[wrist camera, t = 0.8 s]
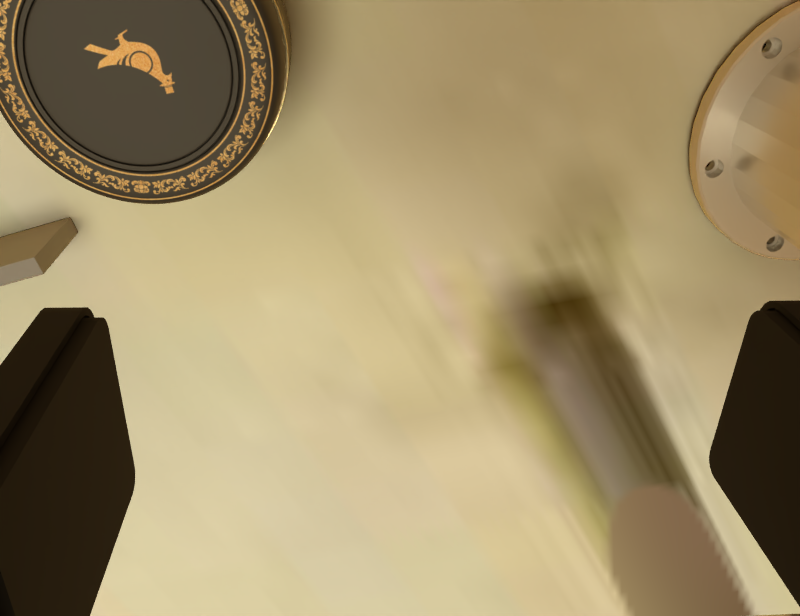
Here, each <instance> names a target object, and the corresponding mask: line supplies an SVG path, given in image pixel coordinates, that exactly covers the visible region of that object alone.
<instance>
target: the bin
mask: <svg viewBox="0 0 800 616" xmlns="http://www.w3.org/2000/svg"><path fill="white" fill-rule="evenodd" d="M77 233H78V231H77V229H76V227H75V226H74V224H73V222H72V220H71V218H70V217H69V218H66V219H62V220H59V221H55V222H52V223H48V224H45V225H41V226H38V227H35V228H31V229H28V230H24V231H21V232H17V233H14V234H10V235H7V236H3V237H0V286H3V285H6V284H10V283H13V282H17V281H20V280H24V279H28V278H31V277H35V276H38V275H42V274H44V273H45V272H46V270H47V269H48V268H49V267H50V266H51V264H52V263H53V262H54V261H55V260H56V258H57V257H58V256H59V255H60V254H61V252H62V251H63V250H64V249H65V248H66V246H67V245H68V244H69V243H70V242H71V240H72V239H73V238H74V237H75V236H76V234H77Z"/></svg>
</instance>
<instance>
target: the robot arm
mask: <svg viewBox="0 0 800 616" xmlns="http://www.w3.org/2000/svg"><path fill="white" fill-rule="evenodd" d="M765 42H767V43H766V46H765V48H764V49H763V50H762V46H763V44H764V43H765ZM710 161H711V162H710ZM689 162H690V176H691V181H692V185H693V189H694V193H695V196H696V198H697V200H698V202H699V204H700V206H701V208H702V210H703V212H704V214H705V215H706V216H707V218H708V219H709V220H710V221H711V222H712V223H713V225H714V226H715V227H716V228H717V229H718V230H719V231H720V232H721V233H723V234H724V235H725V236H726V237H727V238H729V239H730V240H731V241H732V242H733V243H735V244H737V245H739V246H741V247H742V248H744V249H746V250H748V251H749V252H751V253H755V254H758V255H761V256H764V257H767V258H773V259H784V260H800V0H799V1H797V2H795V3H793V4H791V5H789V6H787V7H785V8H783V9H781V10H780V11H779V12H777V13H776V14H774V15H773V16H772V17H770V18H769V19H767V20H766V21H764V22H763V23H762V24H760V25H759V26H758V27H756V28H755V29H754V30H753V31H752V32H751V33H750V34H749V35H748V36H747V37H746V38H745V39H744V40H743V41H742V42H741V43H740V44H739V45H738V46H737V47H736V48H735V49H734V50H733V52H732V53H731V54H730V55H729V57H728V58H727V59H726V61H725V62H724V63H723V65H722V66H721V67H720V68H719V70H718V71H717V73H716V74H715V76H714V78H713V80H712V82H711V83H710V85H709V87H708V89H707V91H706V93H705V94H704V96H703V98H702V101H701V104H700V107H699V110H698V112H697V115H696V118H695V121H694V124H693V130H692V136H691V141H690V147H689ZM709 162H710V164H709V166H708V167H706V166H707V164H708V163H709ZM705 167H706V168H705ZM709 463H710V468H711V472H712V474H713V476H714V478H715V479H716V481H717V482H718V484H719V485H720V487H721V488H722V490H723V492H724V493H725V495H726V496H727V498H728V499H729V501H730V502H731V504H732V505H733V507H734V508H735V510H736V511H737V513H738V514H739V516H740V517H741V519H742V520H743V522H744V523H745V525H746V526H747V528H748V529H749V531H750V532H751V534H752V535H753V537H754V538H755V540H756V541H757V543H758V544H759V546H760V547H761V549H762V550H763V552H764V553H765V555H766V556H767V558H768V560H769V561H770V563H771V564H772V566H773V567H774V569H775V570H776V572H777V573H778V575H779V576H780V578H781V579H782V581H783V582H784V584H785V585H786V587H787V588H788V590H789V591H790V593H791V594H792V596H793V597H794V599H795V600H796V602H797V603H798V605H799V606H800V301H769V302H767V303H765V304H764V306H763V307H762V308H761V310H760V311H756V312H754V313H753V314H752V315H751V317H750V319H749V322H748V325H747V328H746V332H745V335H744V338H743V342H742V345H741V349H740V352H739V355H738V359H737V362H736V365H735V369H734V372H733V376H732V379H731V382H730V386H729V389H728V392H727V396H726V399H725V402H724V406H723V409H722V413H721V416H720V419H719V423H718V426H717V429H716V433H715V436H714V440H713V443H712V446H711V450H710V455H709ZM134 484H135V467H134V461H133V456H132V451H131V445H130V440H129V435H128V429H127V424H126V419H125V413H124V408H123V403H122V397H121V392H120V387H119V381H118V376H117V371H116V365H115V360H114V355H113V349H112V344H111V339H110V333H109V328H108V325H107V322H106V320H105V319H104V318H94V315H93V313H92V311H91V310H90V309H89V308H44V309H43V310H41V311H40V313H39V314H38V315H37V317H36V318H35V319H34V321H33V322H32V323H31V325H30V326H29V327H28V329H27V330H26V331H25V333H24V334H23V335H22V337H21V338H20V339H19V341H18V342H17V344H16V345H15V346H14V348H13V349H12V350H11V352H10V353H9V354H8V356H7V357H6V358H5V360H4V361H3V362H2V364H1V365H0V616H90V614H91V611H92V608H93V605H94V602H95V599H96V597H97V594H98V591H99V588H100V585H101V582H102V579H103V577H104V574H105V571H106V568H107V565H108V562H109V560H110V557H111V554H112V551H113V548H114V545H115V543H116V540H117V537H118V534H119V531H120V528H121V526H122V523H123V520H124V517H125V514H126V511H127V508H128V506H129V503H130V500H131V497H132V494H133V490H134ZM756 616H800V614H782V615H756Z"/></svg>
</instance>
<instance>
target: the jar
mask: <svg viewBox="0 0 800 616" xmlns="http://www.w3.org/2000/svg"><path fill="white" fill-rule="evenodd" d="M290 61H291V36H290V28H289V22H288V18H287V14H286V10H285V7H284V3H283V1H282V0H0V111H1V113H2V115H3V116H4V118H5V120H6V121H7V123H8V124H9V126H10V127H11V128H12V130H13V131H14V132H15V134H16V135H17V136H18V137H19V138H20V140H21V141H22V142H23V143H24V144H25V145H26V146H27V147H28V148H29V150H30V151H32V152H33V153H34V154H35V155H36V156H37V157H38V158H39V159H40V160H41V161H42V162H44V163H45V164H46V165H47V166H49V167H50V168H51V169H53V170H54V171H55V172H57V173H58V174H60V175H61V176H63V177H64V178H66V179H68V180H69V181H71V182H73V183H75V184H77V185H79V186H81V187H83V188H85V189H87V190H89V191H92V192H94V193H97V194H100V195H102V196H106V197H109V198H112V199H116V200H121V201H126V202H132V203H142V204H163V203H172V202H178V201H183V200H187V199H191V198H194V197H197V196H200V195H203V194H205V193H207V192H209V191H211V190H214V189H216V188H217V187H219V186H221V185H223V184H224V183H226V182H227V181H229V180H230V179H232V178H233V177H234V176H235V175H237V174H238V173H239V172H240V171H241V170H242V169H243V168H244V167H245V166H246V165H247V164H248V163H249V162H250V161H251V160H252V159H253V157H254V156H255V155H256V154H257V152H258V151H259V150H260V148H261V147H262V145H263V144H264V142H265V141H266V139H267V138H268V136H269V135H270V133H271V131H272V129H273V127H274V126H275V124H276V122H277V120H278V117H279V114H280V111H281V108H282V106H283V103H284V99H285V94H286V89H287V84H288V74H289V69H290Z"/></svg>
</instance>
